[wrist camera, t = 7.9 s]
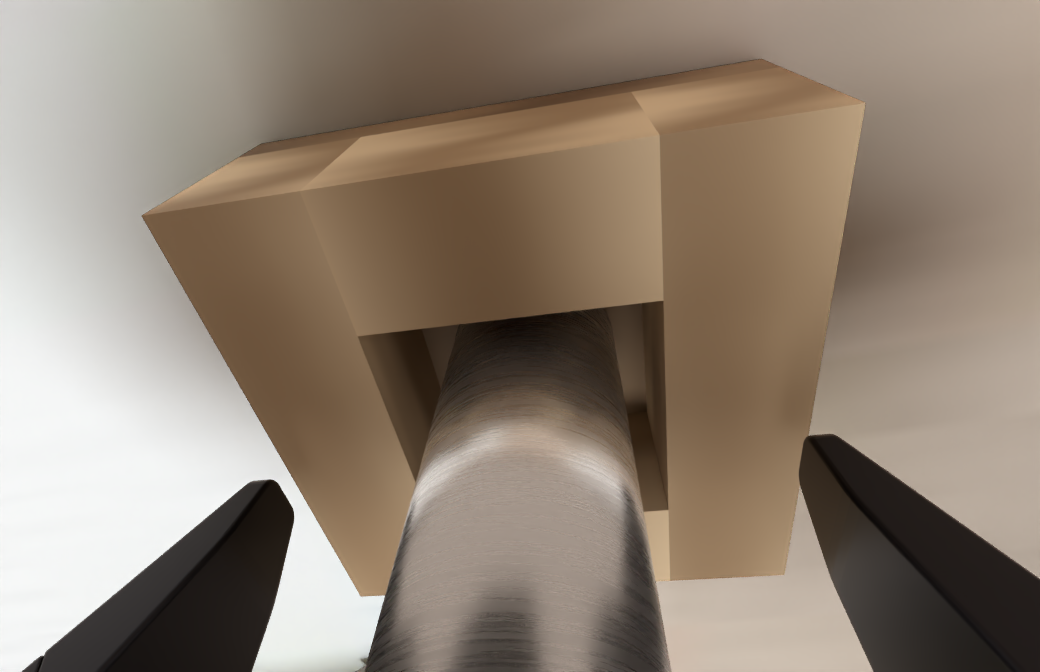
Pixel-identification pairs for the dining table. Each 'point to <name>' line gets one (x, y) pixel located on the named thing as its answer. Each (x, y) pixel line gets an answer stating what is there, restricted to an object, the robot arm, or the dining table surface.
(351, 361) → the bore block
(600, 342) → the pin
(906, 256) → the dining table surface
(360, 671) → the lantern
